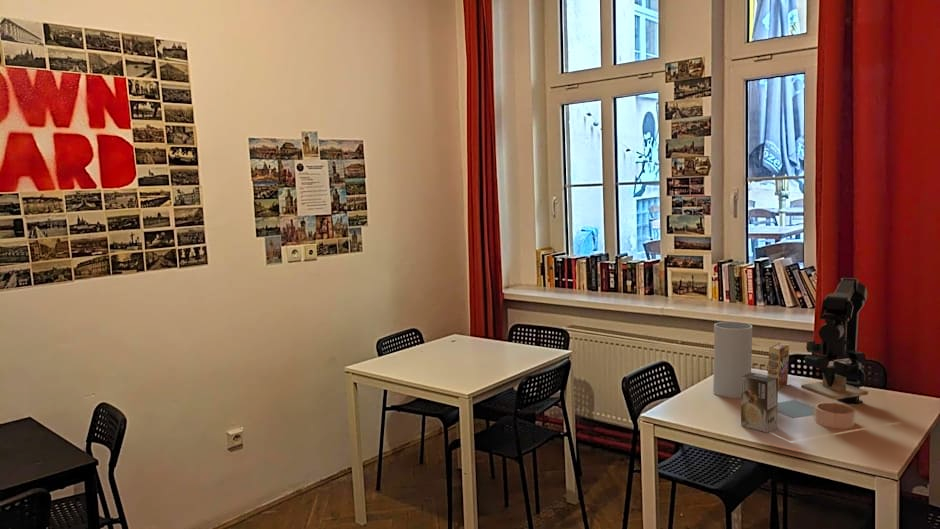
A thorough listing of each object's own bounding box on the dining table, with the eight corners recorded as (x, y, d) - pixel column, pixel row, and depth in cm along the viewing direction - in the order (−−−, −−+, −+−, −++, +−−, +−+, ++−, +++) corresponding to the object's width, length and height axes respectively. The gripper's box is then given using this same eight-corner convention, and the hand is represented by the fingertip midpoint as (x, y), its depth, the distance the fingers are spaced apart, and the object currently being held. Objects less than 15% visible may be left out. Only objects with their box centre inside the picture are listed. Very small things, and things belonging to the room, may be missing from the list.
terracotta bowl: (833, 415, 228) (834, 400, 227) (862, 426, 217) (862, 411, 217) (806, 420, 224) (806, 405, 224) (834, 431, 214) (834, 415, 213)
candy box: (778, 390, 255) (779, 348, 253) (766, 387, 258) (767, 347, 256) (788, 384, 261) (789, 344, 260) (776, 382, 264) (777, 342, 263)
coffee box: (778, 428, 218) (779, 377, 216) (767, 433, 214) (768, 381, 212) (750, 420, 225) (751, 371, 223) (739, 425, 221) (740, 375, 219)
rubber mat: (795, 401, 243) (795, 399, 243) (827, 413, 229) (827, 412, 229) (761, 406, 238) (761, 405, 238) (792, 419, 225) (792, 418, 225)
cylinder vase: (707, 395, 252) (708, 326, 249) (721, 386, 261) (722, 320, 258) (743, 401, 244) (744, 330, 241) (755, 392, 253) (757, 324, 250)
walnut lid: (833, 383, 228) (834, 368, 227) (867, 394, 216) (868, 378, 215) (801, 387, 224) (801, 372, 223) (833, 399, 212) (834, 383, 211)
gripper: (839, 328, 228) (837, 375, 230) (791, 334, 222) (790, 382, 224) (868, 335, 218) (865, 385, 220) (819, 341, 212) (817, 392, 214)
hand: (834, 385), depth 220 cm, fingers closed on walnut lid, 3 cm apart
